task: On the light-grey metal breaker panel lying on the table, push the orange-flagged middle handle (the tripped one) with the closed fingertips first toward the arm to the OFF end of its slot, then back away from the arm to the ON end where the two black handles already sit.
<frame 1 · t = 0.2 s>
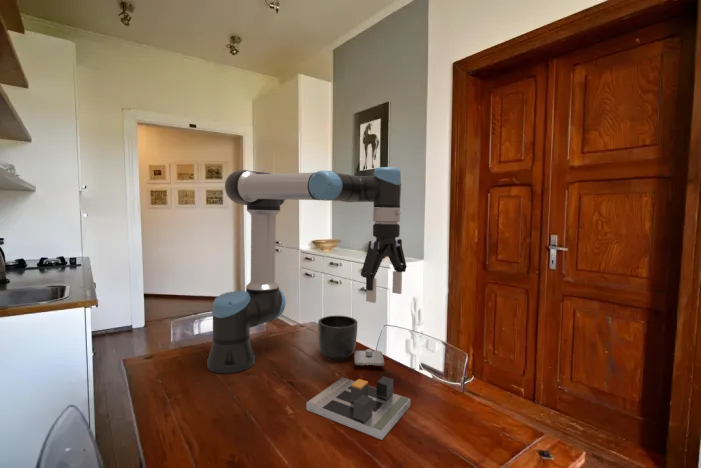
hand: (384, 297, 102), 28 cm above the table, fingers open, 13 cm apart
light switch: (368, 365, 121), on the table
planter: (337, 357, 127), on the table
tripped breaker: (359, 391, 94), point 5 cm above the table, slide at 0.0 cm
panel: (359, 407, 94), on the table
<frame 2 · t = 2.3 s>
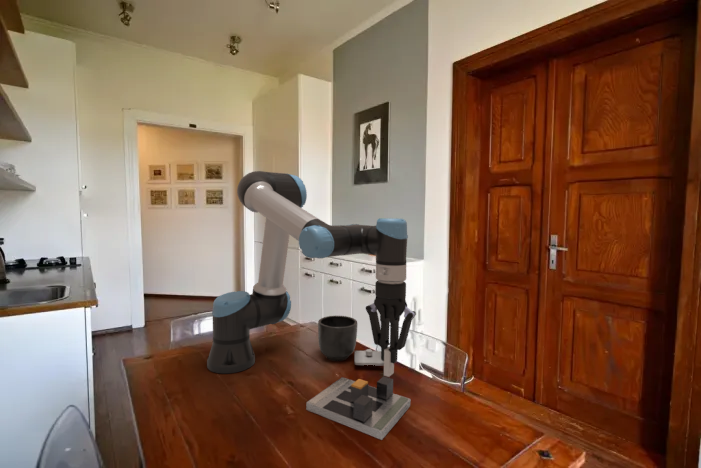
hand: (388, 373, 89), 12 cm above the table, fingers closed
nothing on the table moved.
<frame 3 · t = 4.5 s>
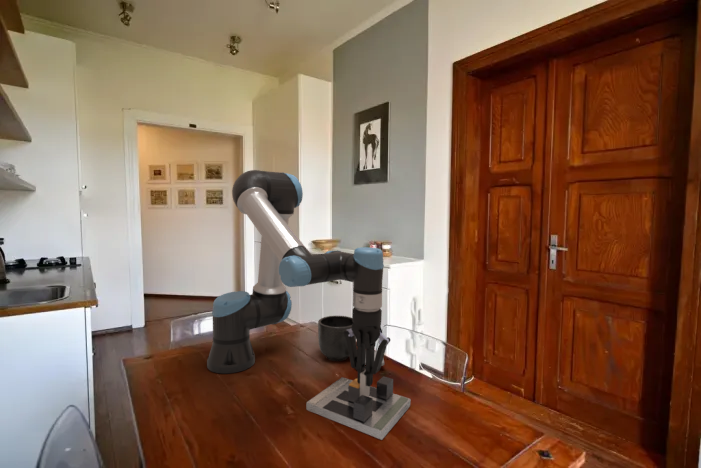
hand: (364, 396, 94), 4 cm above the table, fingers closed
tripped breaker: (357, 390, 95), point 5 cm above the table, slide at -0.7 cm, touching gripper
everything else where it was.
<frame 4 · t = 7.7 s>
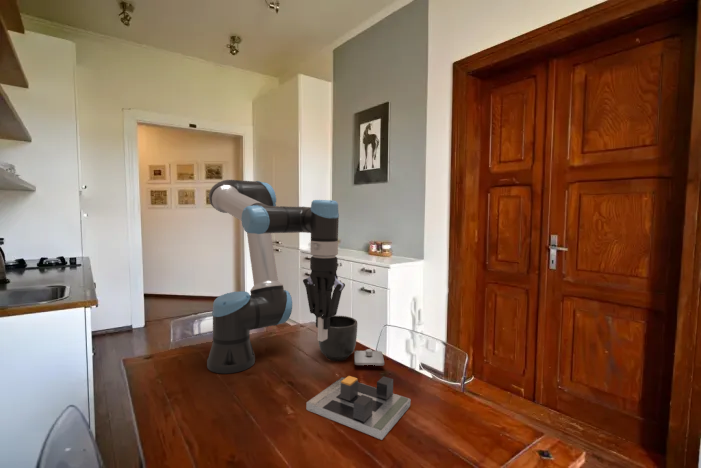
hand: (322, 339, 100), 16 cm above the table, fingers closed
tripped breaker: (349, 387, 96), point 5 cm above the table, slide at -3.2 cm
everything else where it was.
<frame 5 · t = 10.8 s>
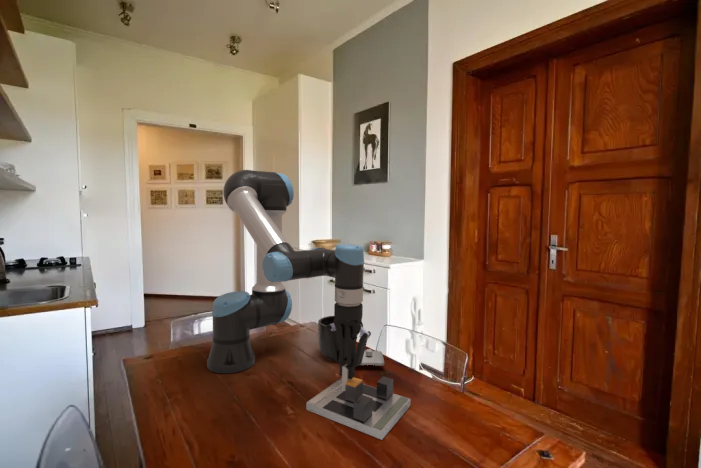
hand: (346, 388, 96), 4 cm above the table, fingers closed
tripped breaker: (354, 389, 95), point 5 cm above the table, slide at -1.7 cm, touching gripper
everything else where it was.
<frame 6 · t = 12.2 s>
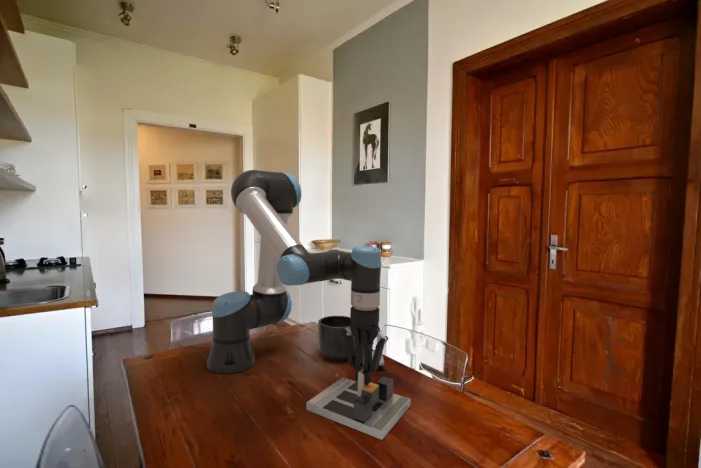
hand: (362, 394, 94), 4 cm above the table, fingers closed
tripped breaker: (370, 394, 92), point 5 cm above the table, slide at 3.2 cm, touching gripper
everything else where it was.
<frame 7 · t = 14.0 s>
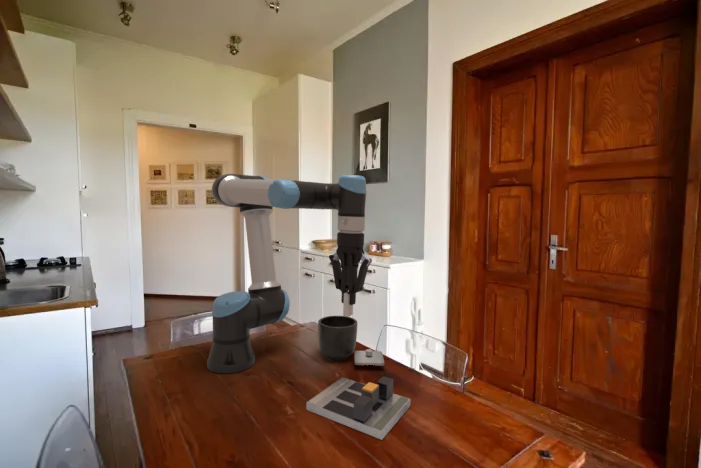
hand: (347, 315, 100), 23 cm above the table, fingers closed
tripped breaker: (370, 394, 92), point 5 cm above the table, slide at 3.2 cm
everything else where it was.
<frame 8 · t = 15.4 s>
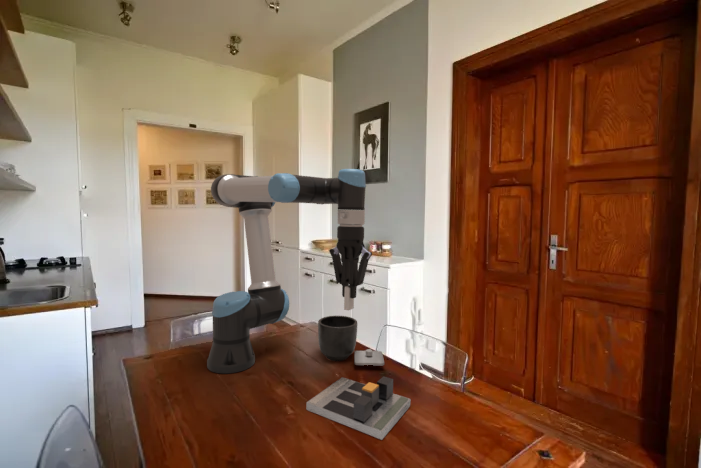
hand: (348, 308, 101), 24 cm above the table, fingers closed
nothing on the table moved.
at the end: tripped breaker slide at 3.2 cm; tripped breaker touching nothing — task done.
